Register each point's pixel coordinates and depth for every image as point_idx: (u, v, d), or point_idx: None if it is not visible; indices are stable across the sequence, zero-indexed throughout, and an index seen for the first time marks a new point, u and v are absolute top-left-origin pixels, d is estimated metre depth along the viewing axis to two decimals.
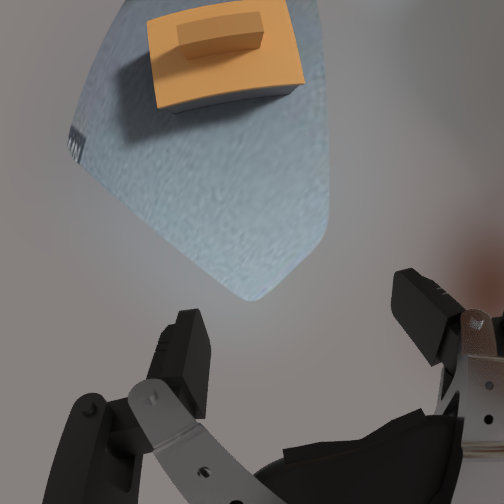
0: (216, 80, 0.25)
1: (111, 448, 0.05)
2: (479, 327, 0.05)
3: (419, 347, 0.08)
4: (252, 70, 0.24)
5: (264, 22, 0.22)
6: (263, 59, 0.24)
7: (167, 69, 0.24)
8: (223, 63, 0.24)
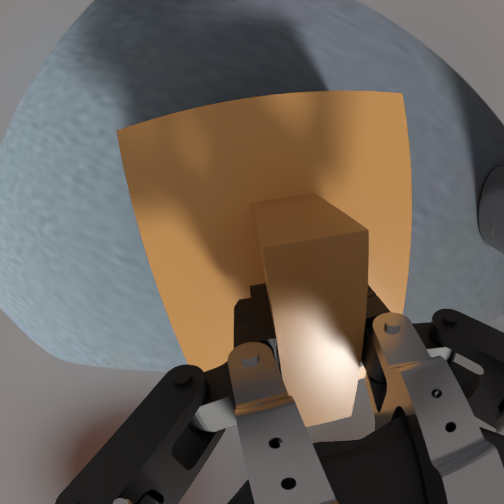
0: (188, 276, 0.12)
1: (192, 423, 0.06)
2: (391, 332, 0.06)
3: None
4: (218, 342, 0.13)
5: None
6: None
7: (228, 145, 0.10)
8: (235, 289, 0.12)
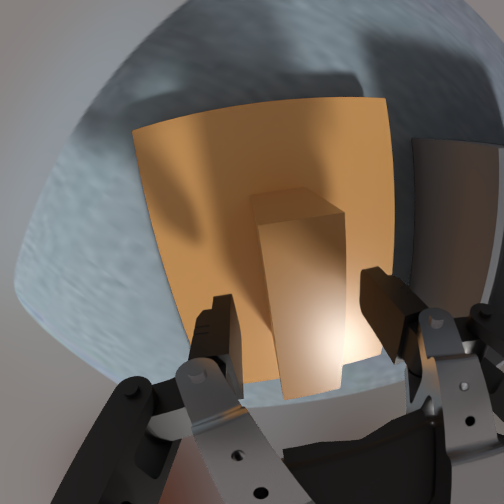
0: (193, 260, 0.13)
1: (148, 433, 0.06)
2: (437, 326, 0.06)
3: (383, 345, 0.09)
4: None
5: None
6: (246, 338, 0.15)
7: (230, 145, 0.11)
8: (235, 272, 0.14)
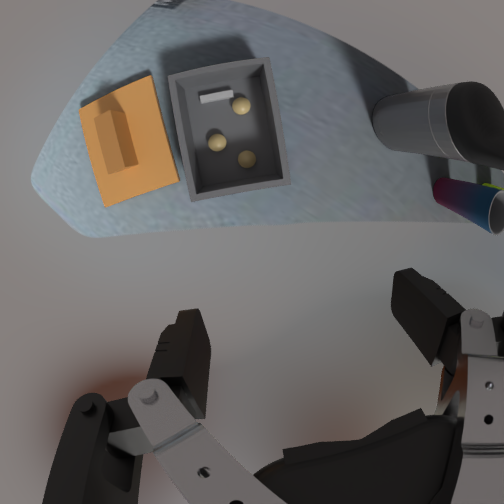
0: (95, 145, 0.32)
1: (111, 448, 0.05)
2: (479, 327, 0.05)
3: (419, 347, 0.08)
4: (105, 168, 0.34)
5: (147, 169, 0.34)
6: (114, 174, 0.34)
7: (104, 107, 0.30)
8: None
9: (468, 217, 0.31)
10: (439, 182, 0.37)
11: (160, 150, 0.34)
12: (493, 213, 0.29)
